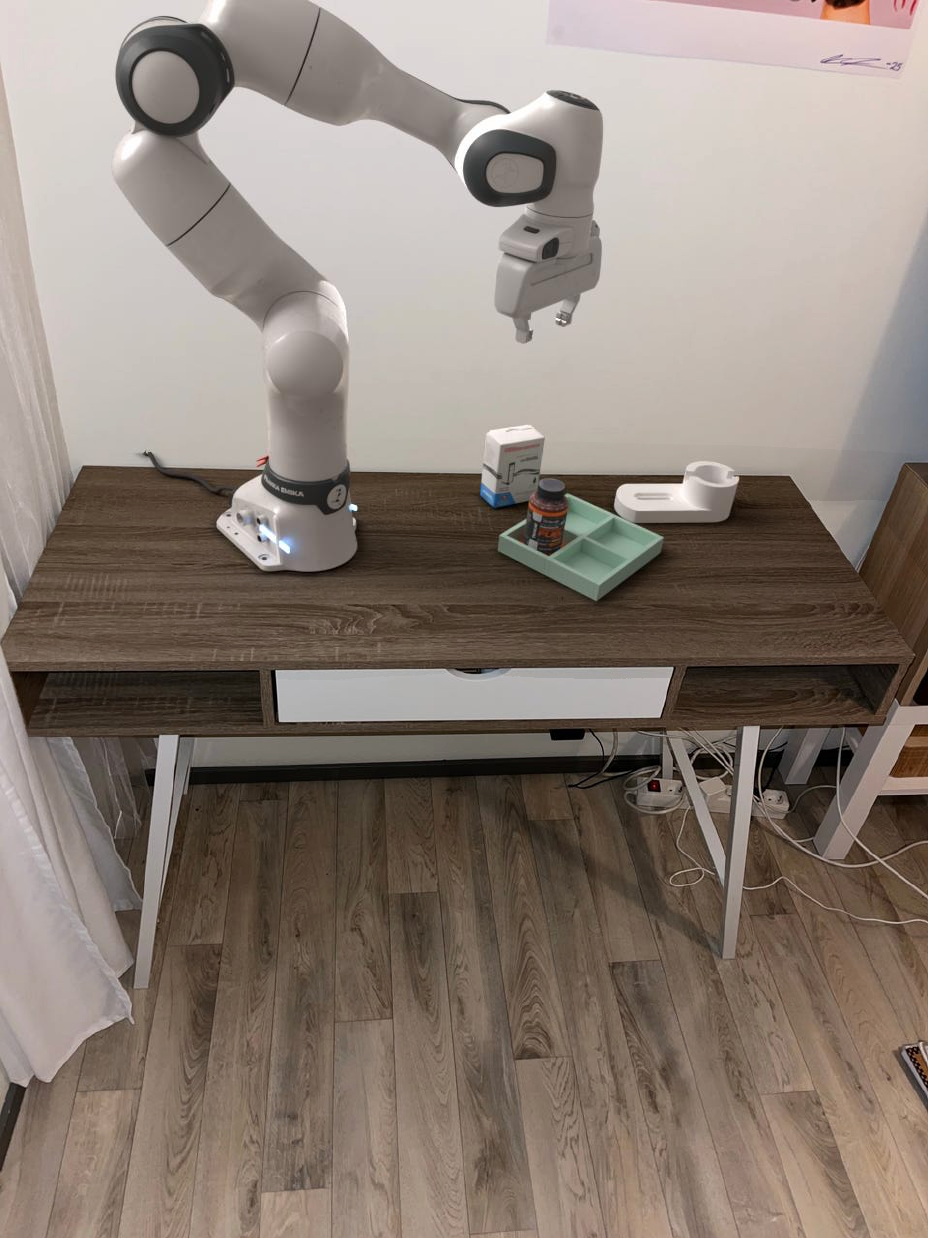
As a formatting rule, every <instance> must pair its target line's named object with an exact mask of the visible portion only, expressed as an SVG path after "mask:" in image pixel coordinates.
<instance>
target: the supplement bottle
mask: <svg viewBox="0 0 928 1238" xmlns="http://www.w3.org/2000/svg"><path fill="white" fill-rule="evenodd" d="M565 490H566V485H565V484H564V482H563V481H561V480H559V479H556V478H551V477H547V478H546V477H545V478H542V479H539V481H538V488H537V491H535V492H534V493H533V494H532V495H531V497H530V500H529V501H528V506H527V512H526V513H527V514H526V518H525V519H526V526H525V533H524V541H523V544H525V545H527V546H529V547H531V548H533V549H535V550H537V551H539V552H541V553H543V554H545V555H547V556H550V555H552V554H553V553H555V552H556V551H558V550H559V549H561V545H562V540H563V534H564V528H565V522H566V517H567V510H568V499H567V498H566V496H565V495H566V494H565Z"/></svg>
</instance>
